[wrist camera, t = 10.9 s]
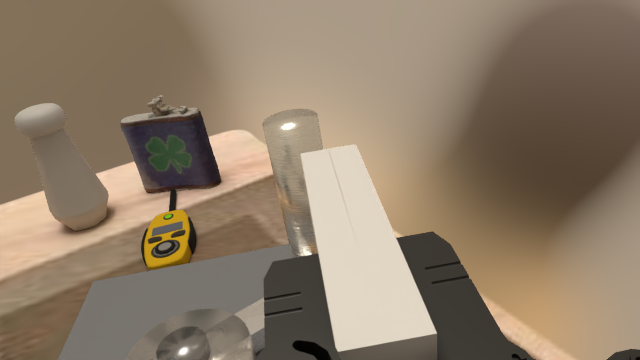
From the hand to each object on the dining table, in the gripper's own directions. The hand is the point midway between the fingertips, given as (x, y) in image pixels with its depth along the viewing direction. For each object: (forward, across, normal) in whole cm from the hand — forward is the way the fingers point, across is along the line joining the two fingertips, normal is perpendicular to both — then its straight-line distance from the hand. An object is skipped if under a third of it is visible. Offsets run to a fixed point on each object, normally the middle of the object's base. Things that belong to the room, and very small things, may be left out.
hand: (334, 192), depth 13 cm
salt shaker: (+34, -24, -20) cm, 47 cm away
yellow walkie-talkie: (+29, -14, -20) cm, 38 cm away
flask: (+38, -14, -20) cm, 45 cm away
